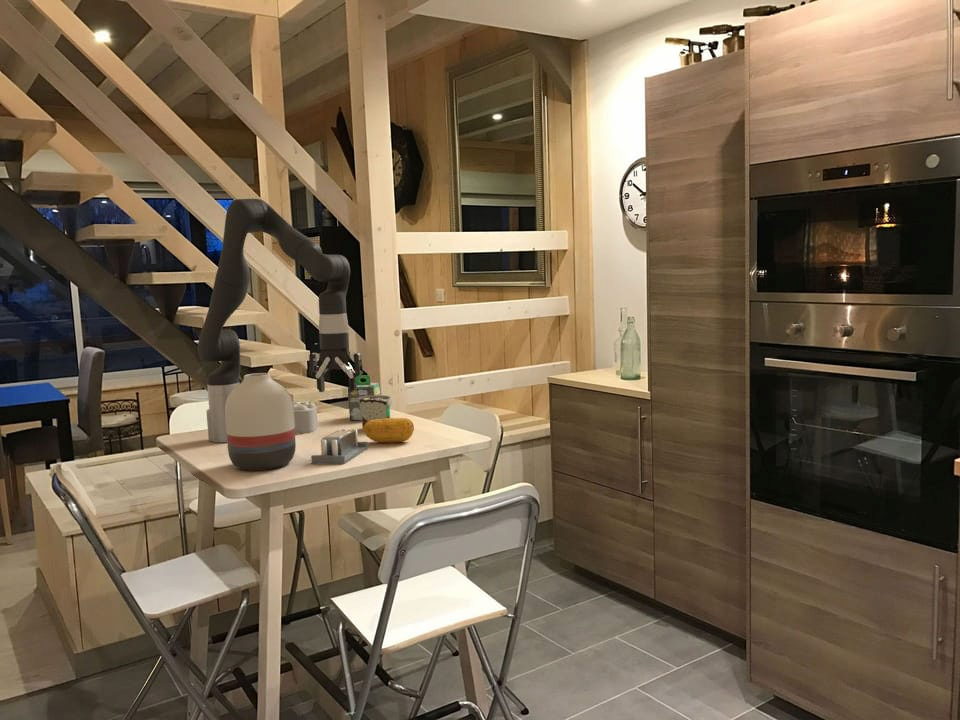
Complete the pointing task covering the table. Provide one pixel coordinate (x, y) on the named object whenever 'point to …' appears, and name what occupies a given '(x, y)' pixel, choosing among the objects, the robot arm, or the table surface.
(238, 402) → the vase
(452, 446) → the table surface
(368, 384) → the chalk box
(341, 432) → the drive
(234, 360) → the robot arm
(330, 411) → the table surface
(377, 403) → the food container
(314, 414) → the lumpy-topped squat cylinder
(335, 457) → the grey pegged block
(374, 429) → the potato
